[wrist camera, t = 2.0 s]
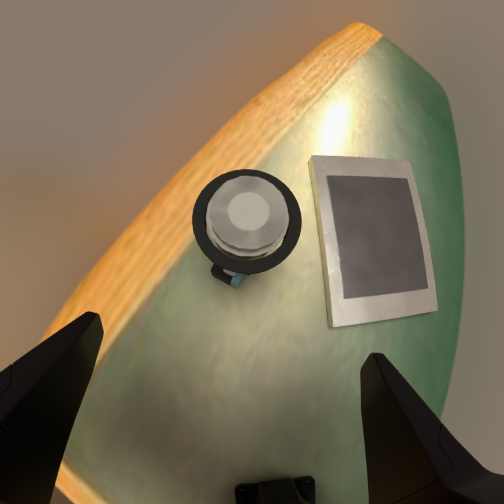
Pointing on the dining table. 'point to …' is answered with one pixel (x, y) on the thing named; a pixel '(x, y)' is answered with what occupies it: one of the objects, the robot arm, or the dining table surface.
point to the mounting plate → (371, 240)
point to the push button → (246, 223)
